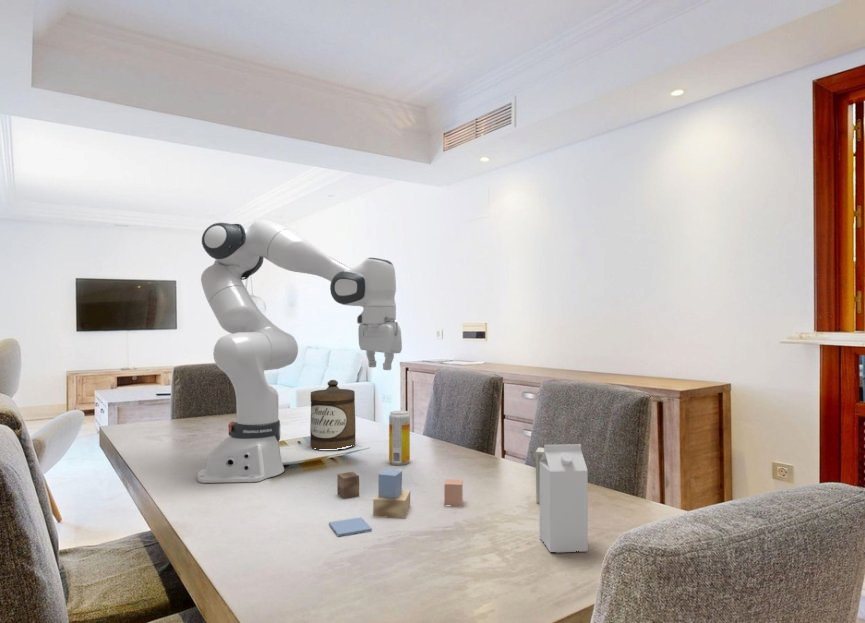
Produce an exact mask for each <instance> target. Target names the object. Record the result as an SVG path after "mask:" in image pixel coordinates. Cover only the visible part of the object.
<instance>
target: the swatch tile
mask: <svg viewBox="0 0 865 623" xmlns="http://www.w3.org/2000/svg"><path fill="white" fill-rule="evenodd" d="M329 525H330V526H329ZM328 526H329V527H330V528H331V529H333V530H334V531H335V532H334V531H333V530H332V531H333V532H334V534H335V533H336V534H337V535H338V536H340V537H343V536H342V535H346V536H349V535H348V534H352V535H355V534H354V533H358V534H361V533H360V532H363V533H366V532H365V531H369V532H371V531H370V530H372V531H373V528H372V527H371V526H370V525H369V524H368V523H367V522H366V521H365V519H364V518H362V517H354V518H347V519H342V520H336V521H330V522H329V521H328ZM336 534H335V535H336ZM337 535H336V536H337ZM338 536H337V537H338Z"/></svg>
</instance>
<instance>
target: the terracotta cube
mask: <svg viewBox="0 0 865 623" xmlns="http://www.w3.org/2000/svg"><path fill="white" fill-rule="evenodd" d="M443 487H444V489H443V490H444V500H443V501H444V502H443V503H444V505H451V506H450V507H460V506H462V507H463V503H462V502H463V500H464V497H463V496H464V494H463V492H464V480H463V479H455V478H445V481H444V486H443ZM444 505H443V506H444Z"/></svg>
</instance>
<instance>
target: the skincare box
mask: <svg viewBox="0 0 865 623" xmlns="http://www.w3.org/2000/svg"><path fill="white" fill-rule="evenodd" d="M543 453H544V447H537V448H536V450H535V454H534V455H535V458H534V459H535V490H536V492H535V495H536V496H535V497H536V500H535V501H536V504H540V462H539V461H540V459H541V457H542V455H543Z"/></svg>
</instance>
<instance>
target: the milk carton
mask: <svg viewBox="0 0 865 623" xmlns="http://www.w3.org/2000/svg"><path fill="white" fill-rule="evenodd" d="M543 448H544V453H543V455H542V457H541V459H540V461H539V462H540V503H539V538H540V540H541V541H542V543H543V542H544V543H543V545H544V546H545V545H546V546H545V547H546V549H547V550H548V551H549V553H551V552H556V553H576V551H577V553H578V551H579V552H582V553H583V552H588V548H589V547H588V546H589V545H588V544H589V542H588V540H589V539H588V538H589V535H588V533H589V530H588V529H589V528H588V527H589V524H588V521H589V518H588V516H589V515H588V514H589V511H588V510H589V509H588V507H589V506H588V505H589V502H588V501H589V499H588V498H589V496H588V493H589V492H588V488H589V487H588V485H589V484H588V483H589V482H588V479H589V478H588V473H589V472H588V467H587V464H586V461H585V458H584V454H583V452H582V444H581V443H580V444H577V443H575V444H574V443H573V444H571V443H570V444H544V447H543Z"/></svg>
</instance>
